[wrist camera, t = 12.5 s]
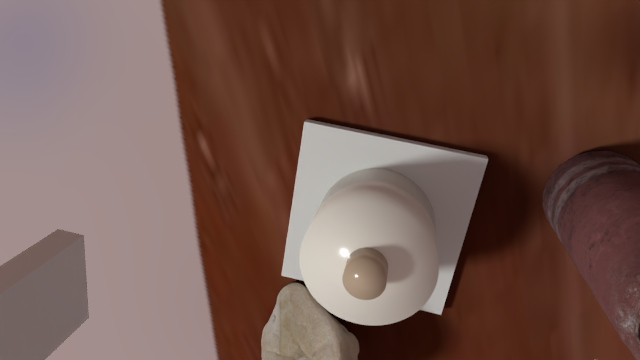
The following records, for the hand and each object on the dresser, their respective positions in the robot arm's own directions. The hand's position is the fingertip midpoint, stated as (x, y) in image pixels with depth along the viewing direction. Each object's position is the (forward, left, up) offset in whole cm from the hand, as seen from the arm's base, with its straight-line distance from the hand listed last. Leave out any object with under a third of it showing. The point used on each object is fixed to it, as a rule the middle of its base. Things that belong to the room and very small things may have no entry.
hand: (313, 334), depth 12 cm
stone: (+17, -2, -21) cm, 27 cm away
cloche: (+6, +1, -20) cm, 21 cm away
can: (+1, +14, -21) cm, 25 cm away
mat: (+6, +1, -21) cm, 22 cm away
